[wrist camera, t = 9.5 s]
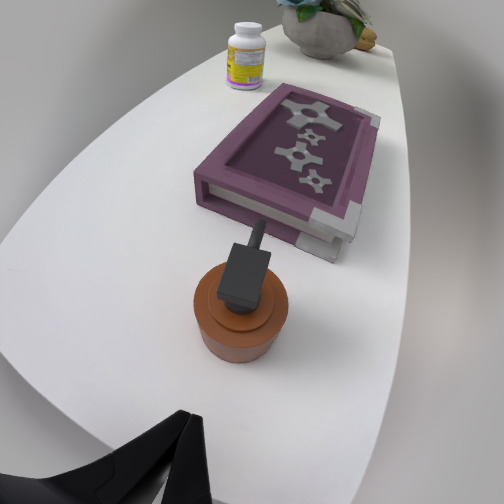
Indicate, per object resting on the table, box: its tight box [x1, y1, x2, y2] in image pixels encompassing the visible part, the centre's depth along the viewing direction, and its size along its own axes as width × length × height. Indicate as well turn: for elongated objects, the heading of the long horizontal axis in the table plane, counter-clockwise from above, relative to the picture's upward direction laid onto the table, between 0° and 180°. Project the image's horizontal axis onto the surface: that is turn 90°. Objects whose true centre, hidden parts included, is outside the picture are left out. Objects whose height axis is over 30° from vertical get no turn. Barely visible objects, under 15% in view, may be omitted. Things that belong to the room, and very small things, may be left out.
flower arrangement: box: [277, 0, 372, 59], centre depth 53 cm, size 25×25×24 cm
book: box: [193, 83, 381, 263], centre depth 34 cm, size 25×16×5 cm, turn 155°
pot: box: [355, 26, 377, 50], centre depth 72 cm, size 12×12×10 cm
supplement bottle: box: [227, 22, 266, 90], centre depth 42 cm, size 7×7×13 cm
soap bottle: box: [194, 262, 288, 363], centre depth 21 cm, size 6×6×7 cm
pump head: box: [216, 219, 271, 309], centre depth 17 cm, size 6×2×2 cm, turn 165°
